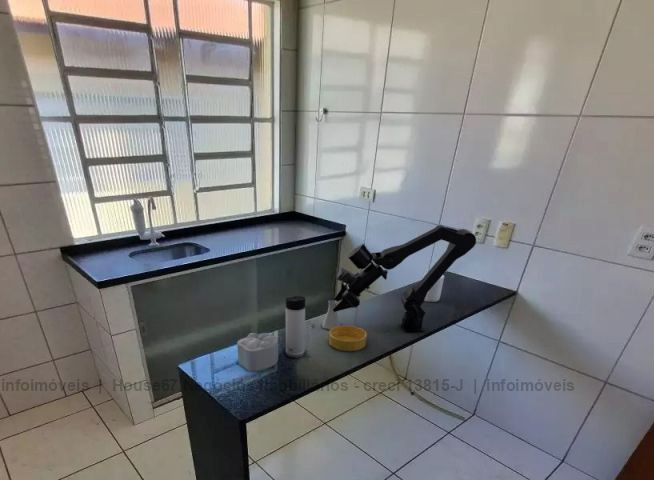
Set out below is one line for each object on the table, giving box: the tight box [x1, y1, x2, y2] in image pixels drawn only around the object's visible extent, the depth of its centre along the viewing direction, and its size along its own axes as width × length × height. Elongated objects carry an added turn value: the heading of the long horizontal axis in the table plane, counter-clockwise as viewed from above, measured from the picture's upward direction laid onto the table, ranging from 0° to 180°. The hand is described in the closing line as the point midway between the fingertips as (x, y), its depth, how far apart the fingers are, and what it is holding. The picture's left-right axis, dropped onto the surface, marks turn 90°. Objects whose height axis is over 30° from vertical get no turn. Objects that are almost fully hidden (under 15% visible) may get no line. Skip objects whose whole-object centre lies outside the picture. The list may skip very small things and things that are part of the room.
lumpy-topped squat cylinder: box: [236, 332, 279, 372], centre depth 131 cm, size 10×13×9 cm
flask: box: [321, 299, 341, 331], centre depth 153 cm, size 7×7×10 cm
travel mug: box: [285, 295, 306, 359], centre depth 132 cm, size 6×7×20 cm
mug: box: [422, 272, 445, 303], centre depth 179 cm, size 9×12×11 cm
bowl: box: [328, 325, 368, 352], centre depth 142 cm, size 13×13×4 cm
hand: (333, 306), depth 152 cm, fingers open, 9 cm apart
